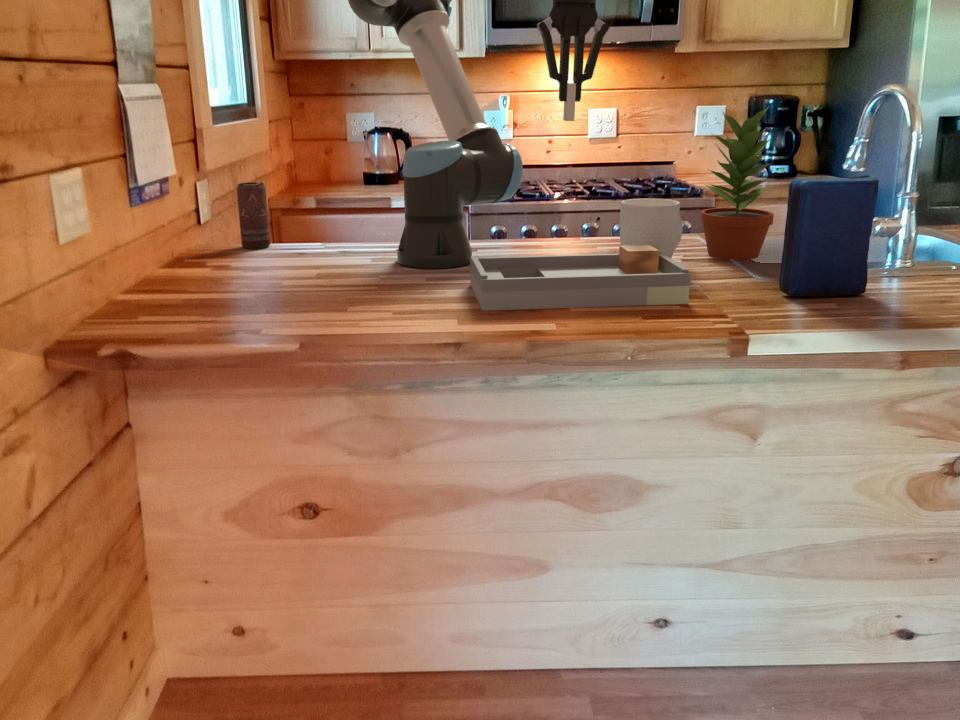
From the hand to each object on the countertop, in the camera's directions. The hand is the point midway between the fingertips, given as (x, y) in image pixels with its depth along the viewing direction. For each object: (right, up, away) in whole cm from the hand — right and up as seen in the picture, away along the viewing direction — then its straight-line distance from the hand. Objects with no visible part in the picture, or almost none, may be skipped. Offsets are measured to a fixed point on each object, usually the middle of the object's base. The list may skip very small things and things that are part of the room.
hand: (568, 120), depth 156 cm
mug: (+17, -26, +9) cm, 33 cm away
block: (+11, -28, -6) cm, 31 cm away
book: (+42, -33, -12) cm, 55 cm away
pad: (+13, -32, -9) cm, 36 cm away
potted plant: (+36, -22, +22) cm, 48 cm away
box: (-1, -33, -10) cm, 34 cm away
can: (-66, -19, +34) cm, 77 cm away
